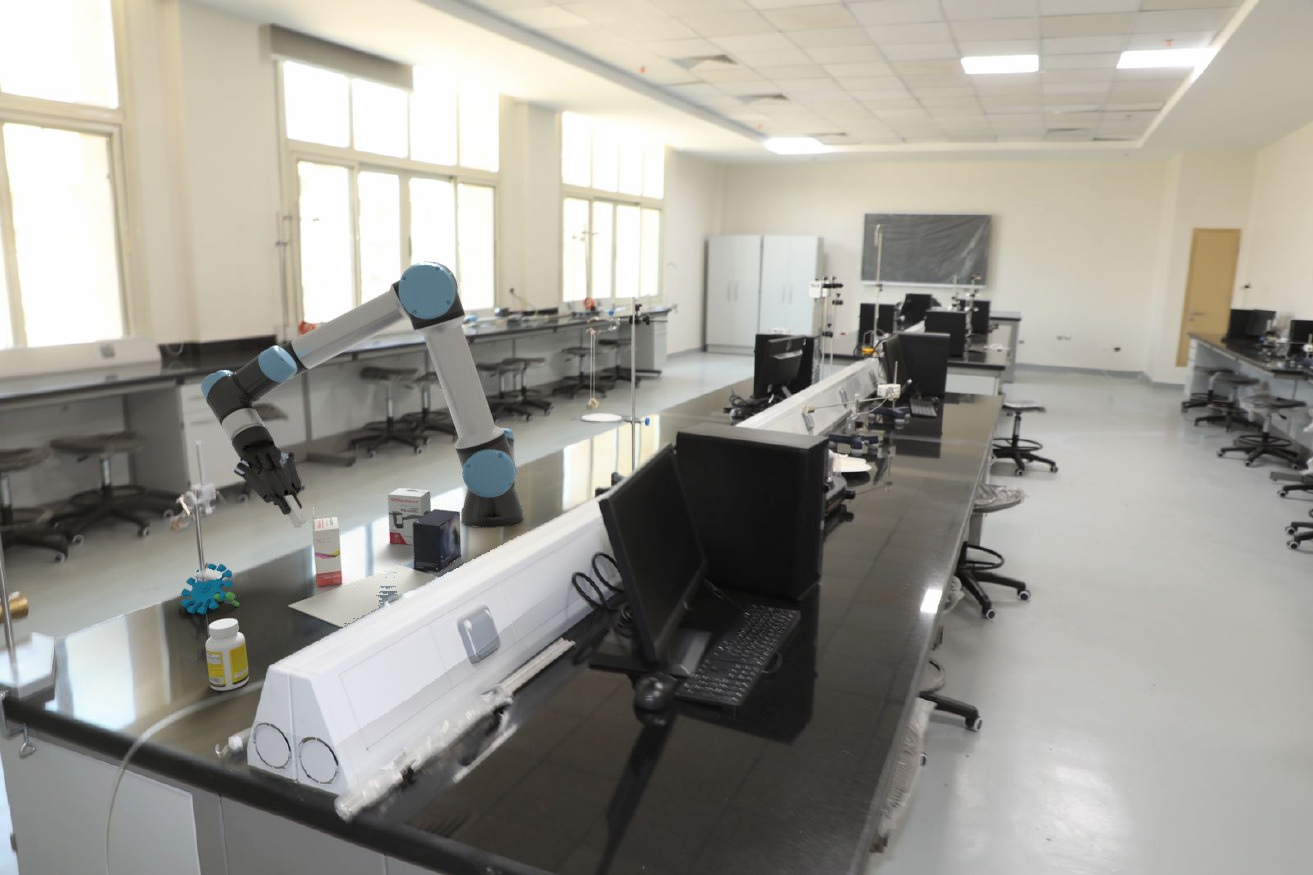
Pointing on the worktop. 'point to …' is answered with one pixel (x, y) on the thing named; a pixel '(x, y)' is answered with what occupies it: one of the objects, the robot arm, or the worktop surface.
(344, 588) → the mat
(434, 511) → the small box
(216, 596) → the gear
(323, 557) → the ink cartridge box
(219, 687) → the supplement bottle
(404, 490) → the ink box
